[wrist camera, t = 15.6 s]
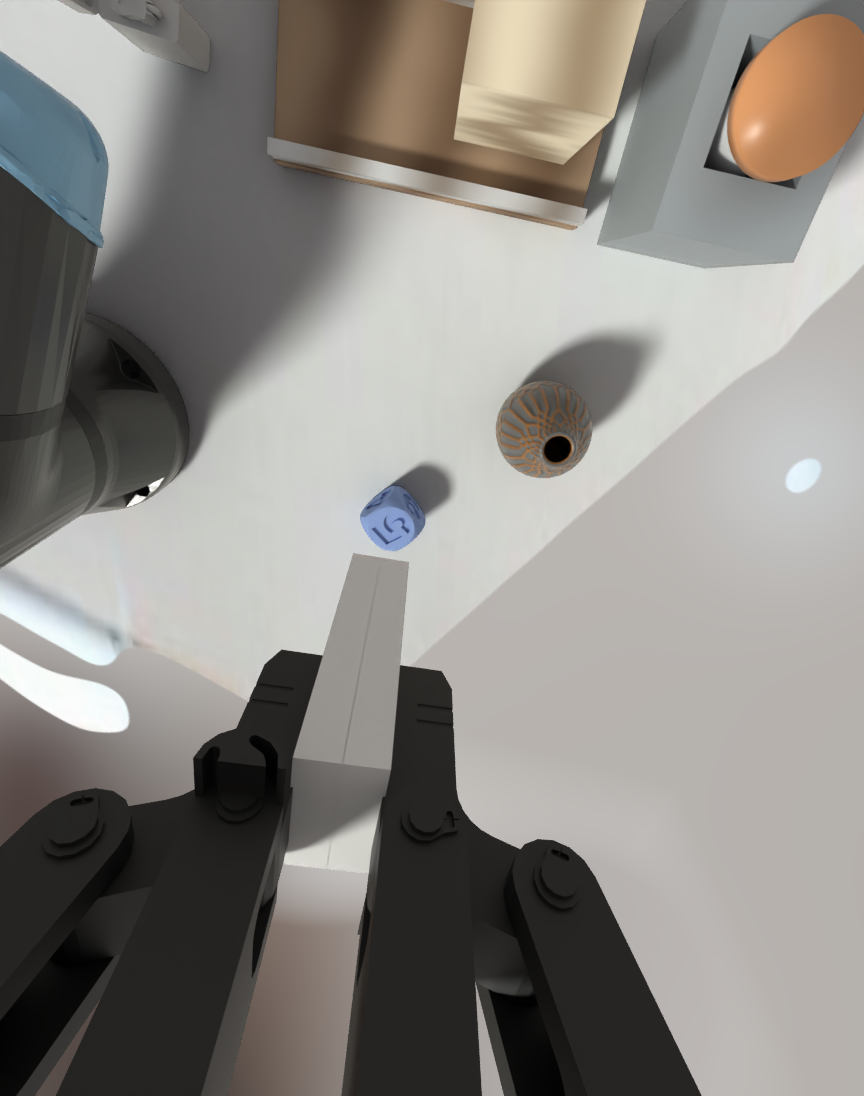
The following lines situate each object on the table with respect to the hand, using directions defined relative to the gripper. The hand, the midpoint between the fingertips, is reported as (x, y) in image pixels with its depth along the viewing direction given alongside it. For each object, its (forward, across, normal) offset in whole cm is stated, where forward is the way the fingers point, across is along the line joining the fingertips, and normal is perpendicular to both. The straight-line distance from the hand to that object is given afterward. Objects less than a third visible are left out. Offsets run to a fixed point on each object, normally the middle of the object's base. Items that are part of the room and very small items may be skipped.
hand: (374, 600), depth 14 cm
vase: (+30, +10, 0) cm, 31 cm away
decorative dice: (+30, 0, -10) cm, 31 cm away
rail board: (+29, -1, +18) cm, 34 cm away
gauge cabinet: (+29, +15, +18) cm, 38 cm away
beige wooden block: (+27, +4, +18) cm, 33 cm away
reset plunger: (+25, +15, +18) cm, 34 cm away
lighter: (+30, -19, +18) cm, 40 cm away
